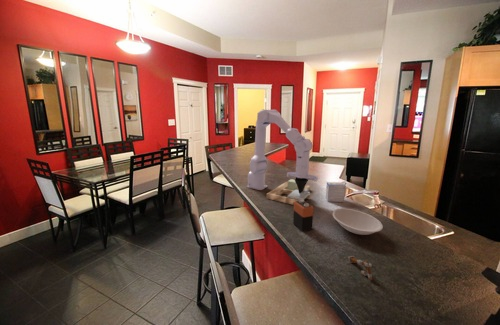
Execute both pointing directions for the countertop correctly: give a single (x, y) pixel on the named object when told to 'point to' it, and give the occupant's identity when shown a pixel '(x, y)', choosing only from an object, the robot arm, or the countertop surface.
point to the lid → (299, 194)
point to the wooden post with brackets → (366, 264)
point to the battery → (303, 215)
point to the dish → (357, 221)
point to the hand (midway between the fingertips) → (301, 193)
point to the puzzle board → (283, 190)
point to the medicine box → (335, 192)
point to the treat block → (292, 185)
